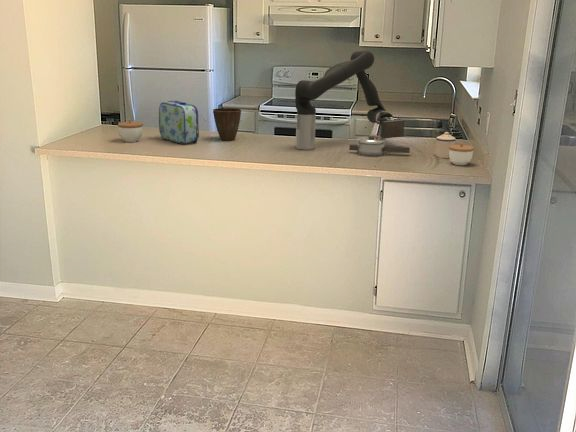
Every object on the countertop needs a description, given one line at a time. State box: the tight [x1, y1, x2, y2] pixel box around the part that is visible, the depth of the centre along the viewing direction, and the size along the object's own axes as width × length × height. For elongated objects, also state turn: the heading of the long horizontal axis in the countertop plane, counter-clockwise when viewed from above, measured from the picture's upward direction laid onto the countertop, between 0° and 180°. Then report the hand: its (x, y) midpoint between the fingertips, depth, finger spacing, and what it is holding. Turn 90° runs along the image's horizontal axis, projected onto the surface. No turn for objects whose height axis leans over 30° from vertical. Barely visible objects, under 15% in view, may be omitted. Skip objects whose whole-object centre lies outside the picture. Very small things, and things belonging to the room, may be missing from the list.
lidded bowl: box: [117, 119, 144, 143], centre depth 307 cm, size 13×13×11 cm
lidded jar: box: [448, 142, 474, 166], centre depth 267 cm, size 11×11×9 cm
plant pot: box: [212, 107, 242, 142], centre depth 314 cm, size 15×15×16 cm
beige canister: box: [434, 131, 457, 159], centre depth 283 cm, size 12×9×12 cm
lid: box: [356, 119, 405, 144], centre depth 287 cm, size 26×14×9 cm, turn 121°
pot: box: [348, 141, 411, 157], centre depth 286 cm, size 28×13×6 cm, turn 96°
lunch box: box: [158, 100, 200, 145], centre depth 307 cm, size 26×11×21 cm, turn 42°
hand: (393, 124), depth 293 cm, fingers closed
